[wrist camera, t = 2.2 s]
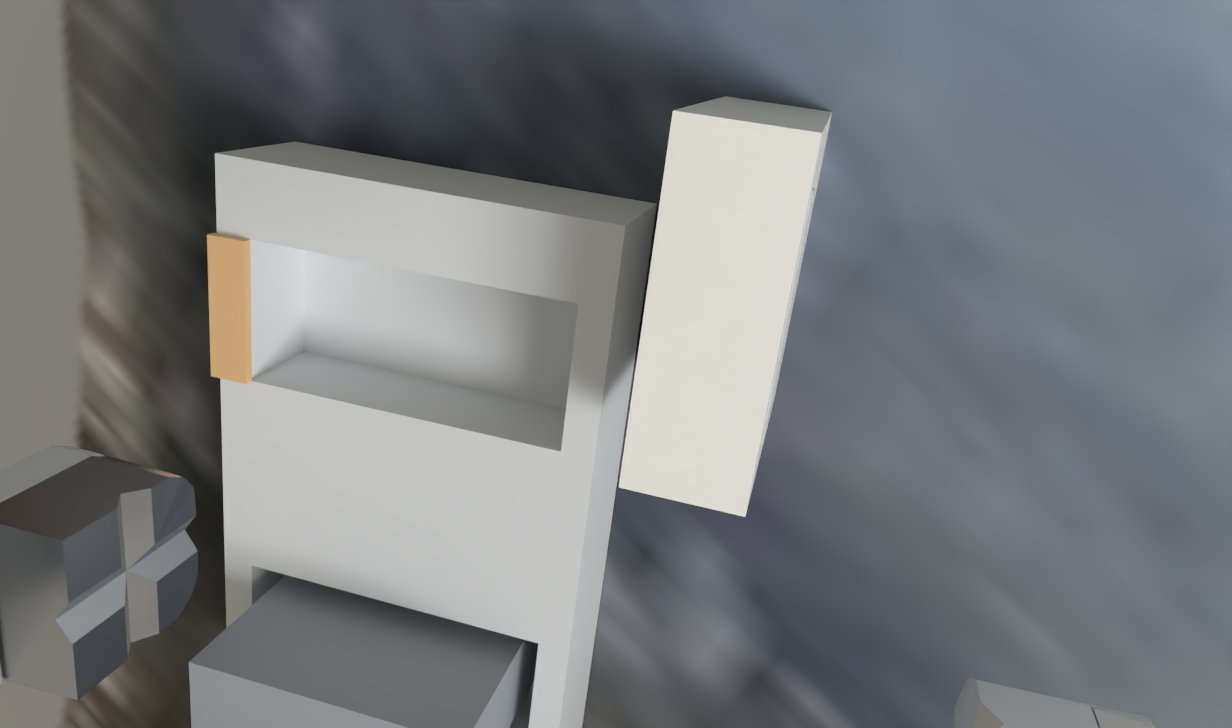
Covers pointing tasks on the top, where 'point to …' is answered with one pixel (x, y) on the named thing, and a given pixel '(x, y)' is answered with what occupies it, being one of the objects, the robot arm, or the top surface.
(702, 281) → the panel
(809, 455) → the top surface
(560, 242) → the rack
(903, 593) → the top surface
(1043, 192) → the top surface
